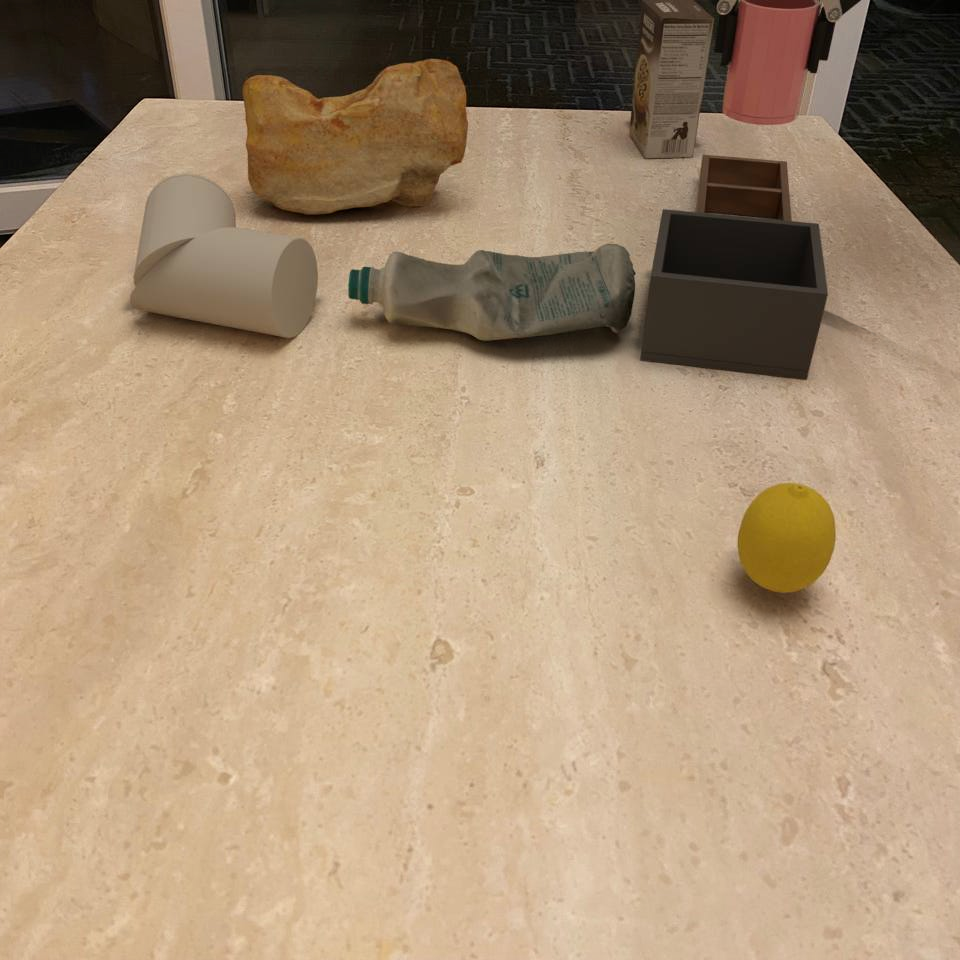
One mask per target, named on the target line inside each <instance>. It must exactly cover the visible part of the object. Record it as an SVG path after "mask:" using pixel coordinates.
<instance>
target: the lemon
mask: <svg viewBox="0 0 960 960" xmlns="http://www.w3.org/2000/svg"><path fill="white" fill-rule="evenodd" d="M835 519H836V518H835V515H834V513H833V510H832V508H831V506H830V504H829V502H828V501H827V499H826V498H824V496H823V495H822V494H820V492H818V491H817V490H816V489H814V488H812V487H810V486H808V485H804V484H802V483H798V482H783V483H777V484H774V485H771V486H769V487H767V488H766V489H764V490H763V491H761V492H760V493H758V494H757V495H756V496H755V498H754V499H753V500H752V502H751V503H750V504H749V505H748V507H747V508H746V511H745V512H744V514H743V517H742V519H741V522H740V526H739V530H738V532H737V533H738V534H737V553H738V558H739V561H740V564H741V565H742V568H743V570H744V572H745V574H746V575H748V577H749V578H750V579H751V580H752V581H753V582H754V583H756V584H757V585H758V586H760V587H762V588H763V589H766V590H767V591H772V592H775V593H786V594H787V593H793V592H798V591H801V590H804V589H806V588H807V587H809V586H812V584H814V583H815V582H816V581H817V580H818V579H820V577H821V576H822V575H823V574H824V573H825V571H826V570H827V568H828V566H829V565H830V561H831V559H832V557H833V554H834V551H835V546H836V538H837V537H836V534H837V533H836V531H837V530H836V520H835Z"/></svg>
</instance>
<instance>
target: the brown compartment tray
mask: <svg viewBox="0 0 960 960" xmlns="http://www.w3.org/2000/svg"><path fill="white" fill-rule="evenodd" d="M788 168H789V167H788V161H787V160H773V159H761V158H749V157H738V156H726V155H713V154H702V157H701V164H700V171H699V177H698V185H697V194H696V203H695V211H694V212H698V213H712V214H723V215H733V216H744V217H755V218H766V219H775V220H784V221H793V220H792V210H791V209H792V208H791V207H792V206H791V196H790V195H791V194H790V181H789V169H788Z"/></svg>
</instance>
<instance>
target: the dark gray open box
mask: <svg viewBox="0 0 960 960" xmlns="http://www.w3.org/2000/svg"><path fill="white" fill-rule="evenodd" d="M661 210H662V211H661V217H660V221H659V228H658V234H657V239H656V245H655V250H654V254H653V255H654V256H653V262H652V267H651V272H650V278H649V279H650V280H649V285H648V286H649V287H648V288H649V289H648V295H647V302H646V303H647V305H646V311H645V319H644V328H643V335H642V342H641V352H640V361H645V362H654V363H661V364H662V363H664V364H671V365H681V366H688V367H697V368H706V369H712V370H713V369H715V370H722V371H729V372H730V371H731V372H738V373H739V372H740V373H749V374H757V375H764V376H765V375H766V376H772V377H782V378H788V379H789V378H791V379H798V380H807V379H808V376H809V373H810V372H809V371H810V369H811V365H812V360H813V358H814V357H813V356H814V352H815V350H816V344H817V340H818V336H819V333H820V332H819V331H820V328H821V324H822V320H823V316H824V312H825V308H826V304H827V299H828V295H829V292H828V284H827V283H828V282H827V275H826V269H825V259H824V254H823V253H824V252H823V246H822V245H823V244H822V237H821V231H820V230H821V229H820V223H816V222H807V221H806V222H804V221H796V220H795V221H793V220H792V221H784V220H777V219H775V218H764V217H753V216H742V215H732V214H721V213H710V212H704V213H698V212H695V211H687V210H676V209H667V208H666V209H665V208H664V209H661Z"/></svg>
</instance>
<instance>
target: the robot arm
mask: <svg viewBox="0 0 960 960" xmlns="http://www.w3.org/2000/svg"><path fill="white" fill-rule="evenodd" d="M737 1H738V0H710V2H711V3H712V4H713V5H714V7H715V8H716V11H717V13H718V14H719V15H718V20H717V21H718V22H717V28H716V34H715V41H714V48H713V53H716V54H721V57H720V58H721V59H720V65H719V66H720V67H724V68H725V67H727V66H728V65H729V62H730V56H731V49H732V43H733V37H734V30H735V24H736V18H737V9H736V7H737ZM861 1H862V0H822V5H823V6H821V7H820V12H819V17H818V20H817V25H816V30H815V35H814V40H813V45H812V50H811V55H810V60H809V65H808V71H807V72H809V73H810V74H815V75H816V74H818V71H819V66H820V61H824V62H827V61H828V59H829V57H830V56H829V55H830V52H831V46H832V43H833V37H834V32H835V27H836V23H837V22H839V20H841V18H842V16H844V15H845V14H846V13H847V12H848V11H850V10H851V9H852V8H853V7H855V6H856V5H857V4H859V3H860V2H861Z"/></svg>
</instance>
